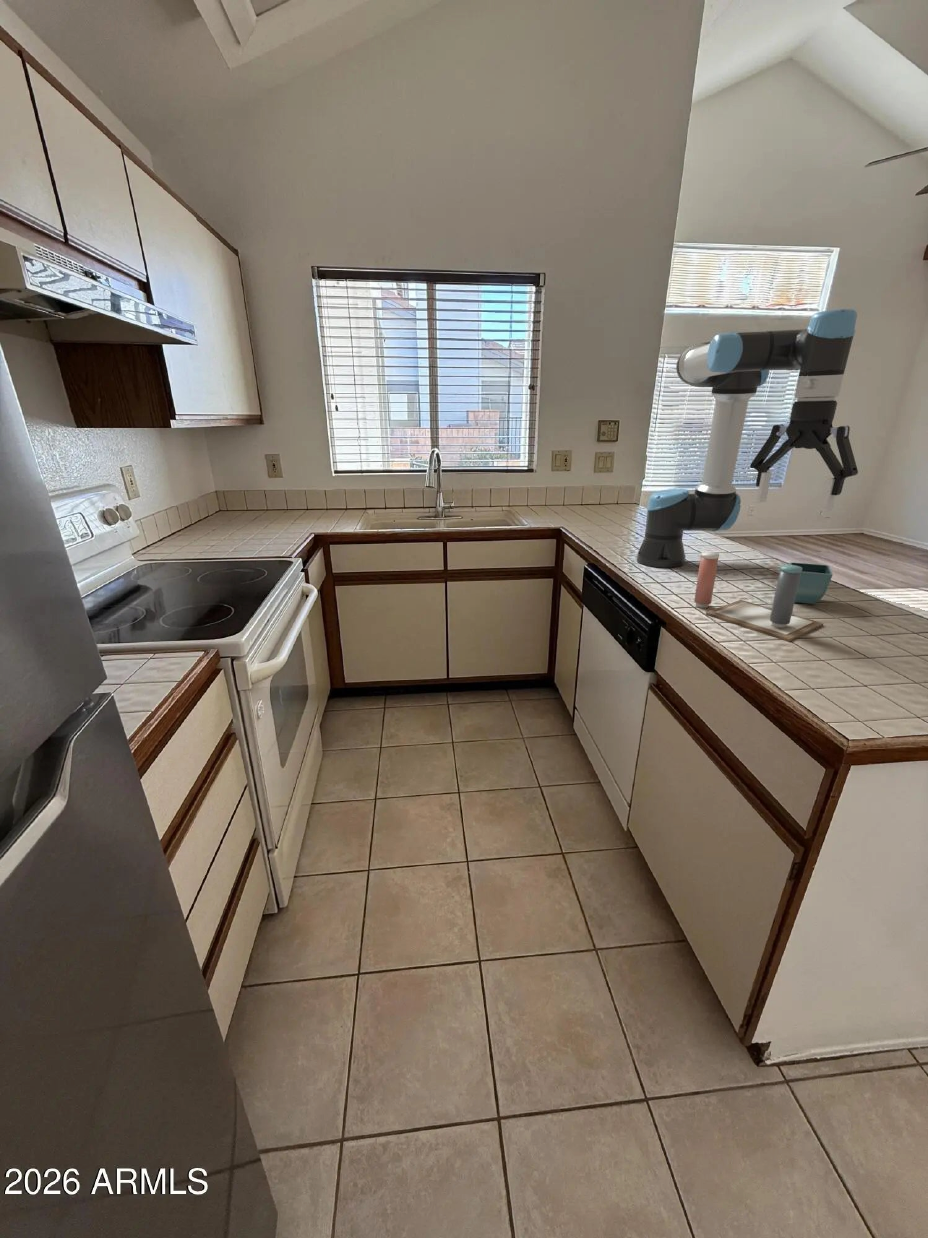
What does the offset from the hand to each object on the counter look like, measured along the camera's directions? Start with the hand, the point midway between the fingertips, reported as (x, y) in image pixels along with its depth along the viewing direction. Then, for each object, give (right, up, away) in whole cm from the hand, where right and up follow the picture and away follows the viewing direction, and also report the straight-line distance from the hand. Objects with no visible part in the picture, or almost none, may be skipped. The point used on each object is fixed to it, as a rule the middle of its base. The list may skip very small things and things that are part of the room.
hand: (792, 506), depth 111 cm
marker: (+1, -26, +7) cm, 27 cm away
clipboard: (+1, -25, +12) cm, 28 cm away
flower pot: (+18, -20, +23) cm, 36 cm away
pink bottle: (-9, -21, +22) cm, 32 cm away
